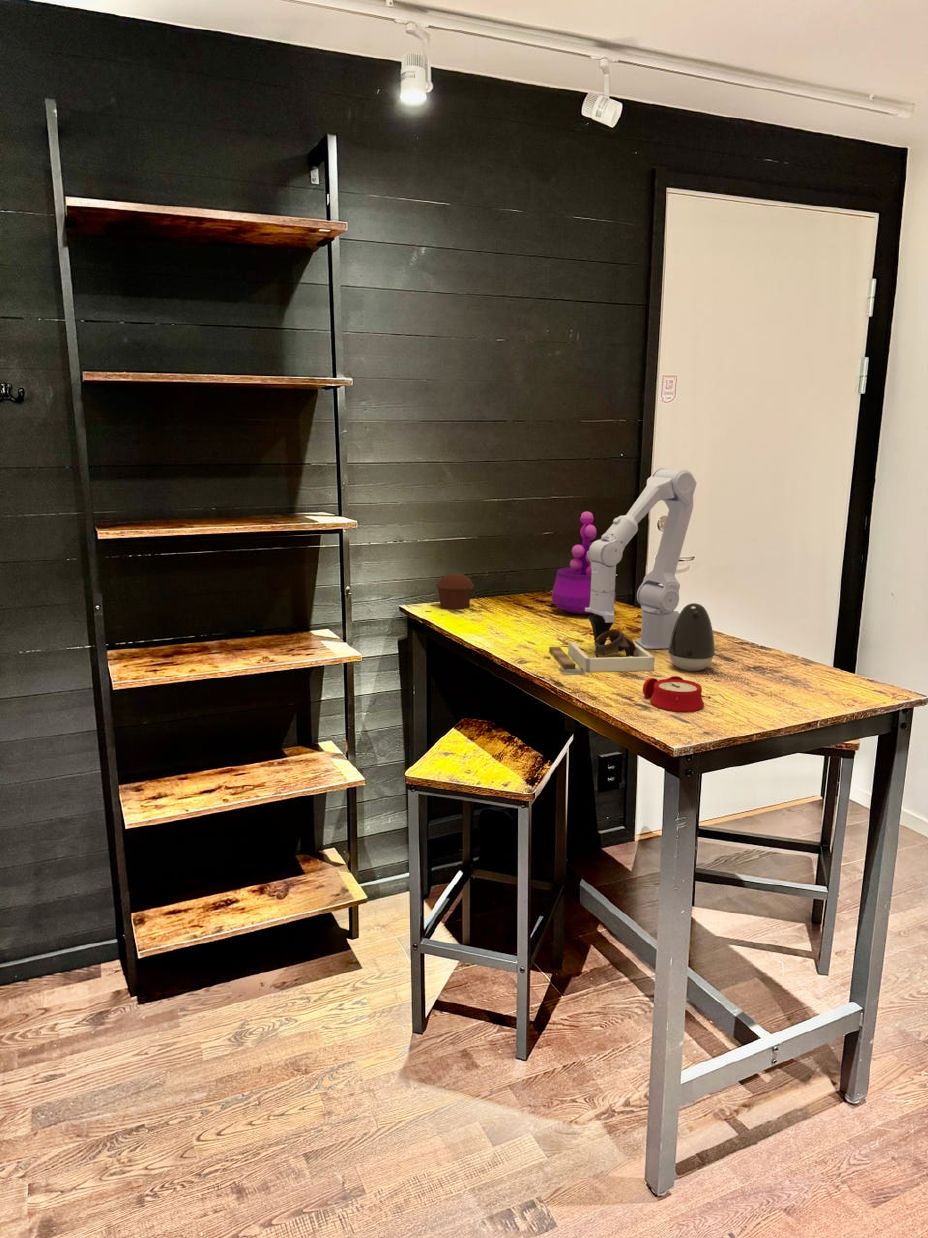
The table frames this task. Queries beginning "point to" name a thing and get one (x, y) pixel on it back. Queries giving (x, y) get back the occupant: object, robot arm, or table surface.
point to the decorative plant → (576, 574)
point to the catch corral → (612, 661)
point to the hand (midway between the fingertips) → (599, 645)
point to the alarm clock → (674, 694)
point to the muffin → (455, 591)
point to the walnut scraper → (565, 662)
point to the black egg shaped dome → (692, 639)
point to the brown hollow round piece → (615, 644)
